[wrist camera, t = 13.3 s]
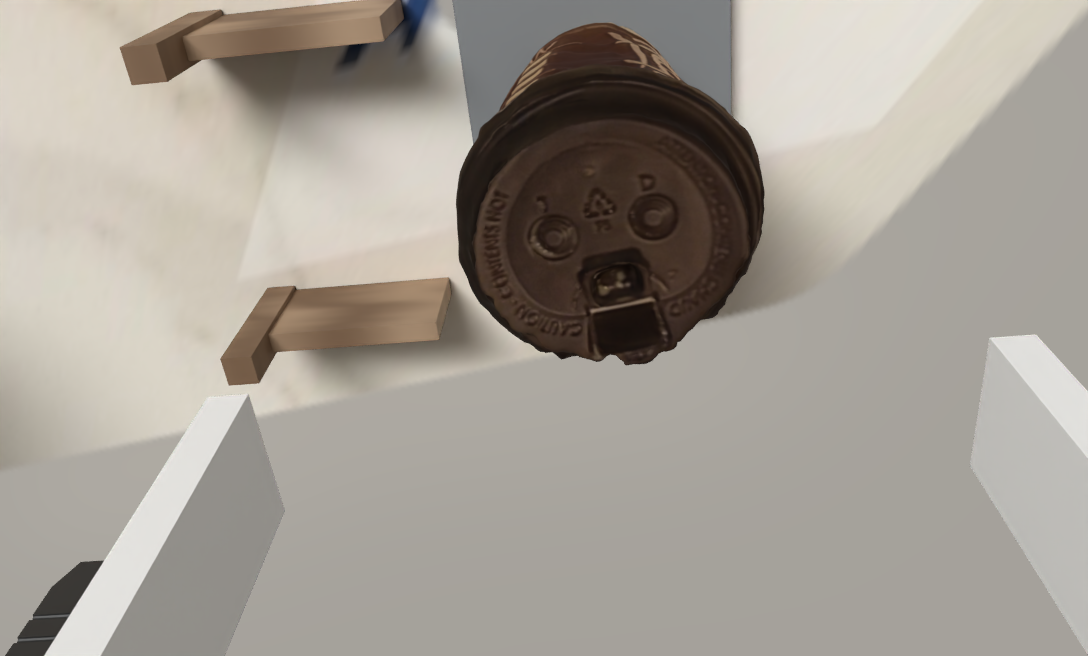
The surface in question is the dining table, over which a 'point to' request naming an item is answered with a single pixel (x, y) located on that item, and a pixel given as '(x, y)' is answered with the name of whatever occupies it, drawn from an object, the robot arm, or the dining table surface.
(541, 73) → the coffee cup
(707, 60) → the coaster
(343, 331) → the cup holder rails
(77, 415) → the dining table surface
